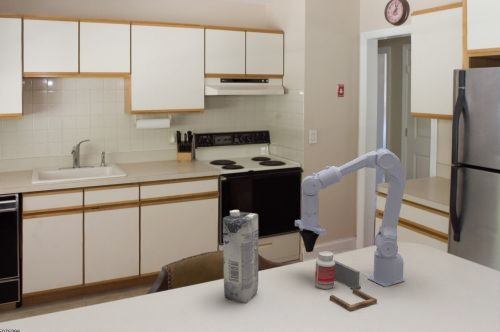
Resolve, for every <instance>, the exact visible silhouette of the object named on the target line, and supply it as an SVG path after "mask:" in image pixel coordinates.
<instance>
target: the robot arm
mask: <svg viewBox="0 0 500 332" xmlns="http://www.w3.org/2000/svg"><path fill="white" fill-rule="evenodd" d="M377 167H378V168H379V169H380V170H382V171H383V172H384V173H385V174H386V175H387V177H388V178H389V182H388V188H387V192H386V199H385V204H384V209H383V215H382V219H381V224H380V226H379V229H378V232H377V234H376V235H375V236H374V245H375V247H376V249H375V251H374V255H373V275H371V276H368V277H367V280H369V281H372V282H374V283H376V284H378V285H380V286H382V287H388V286H393V285H395V284H398V283H404V282H405V278H404V264H405V263H404V258H403V256H402V255H401V254H400V253H398V252H399V245H398V242H397V241H398V224H399V219H400V214H401V210H402V204H403V198H404V193H405V189H406V188H405V187H406V182H407V174H406V171H405V169H404V166H403V165H402V162H401V159H400V158H399V157H398V156H397V155H396V154H395V153H394V152H392V151H390V150H389V149H388V148H386V147H380V148H377V149H376V150H372V151H369V152H367V153H364V154H362V155H360V156H358V157H356V158H355V159H352V160H350V161H348V162H346V163H344V164H342V165H341V166H336V165H332V166H330V165H327V166H325V168H324V169H322V170H320V171H319V172H318V171H317V172H313V173H311V174H312V175H307V176H305V177H303V179H302V181H301V189H302V192H301V218H300V219H297V220H296V219H295V220H294V226H295V227H298V228H299V229H300V230H299V234H300V236H301V239H302V241H303V242H302V243H303V244H304V249H305V252H307V253H312V252H314V250H315V245H316V242H317V240H318V238H319V237H325V236H327V230H326V229H325V228H323V227H322V226H321V225H320V223H319V219H320V218H319V213H320V212H319V211H320V198H319V192H320V190H324V189H327V188H329V187H332V186H333V185H336V184H338V183H340V182H342V181H341V180H342V178H343V177H344V176H346V175H350V174H351V173H354V172H357V171H359V170H362V169H364V168H370V169H376V168H377Z"/></svg>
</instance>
